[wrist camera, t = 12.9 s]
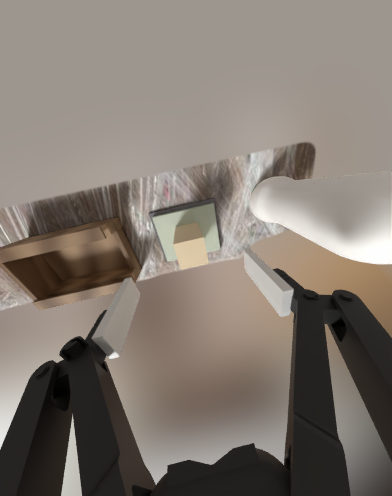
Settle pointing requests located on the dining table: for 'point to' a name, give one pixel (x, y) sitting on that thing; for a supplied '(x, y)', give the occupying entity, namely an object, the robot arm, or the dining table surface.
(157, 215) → the mat
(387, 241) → the bottle
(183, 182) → the dining table surface
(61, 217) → the dining table surface
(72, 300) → the walnut box
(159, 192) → the dining table surface
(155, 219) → the lid
